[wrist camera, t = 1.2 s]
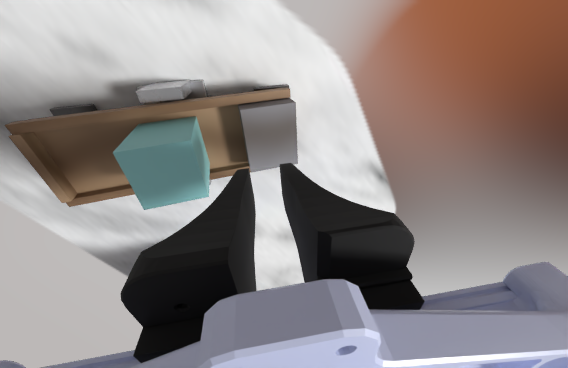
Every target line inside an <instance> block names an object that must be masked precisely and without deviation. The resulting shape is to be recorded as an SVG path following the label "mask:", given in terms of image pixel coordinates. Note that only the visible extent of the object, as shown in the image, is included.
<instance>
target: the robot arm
mask: <svg viewBox="0 0 568 368" xmlns="http://www.w3.org/2000/svg"><path fill="white" fill-rule="evenodd" d="M280 174H281V185H282V196H283V201H284V206H285V211H286V214H287V217H288V220H289V223H290V226H291V229H292V232H293V235H294V238H295V241H296V245H297V248H298V253H299V258H300V262H301V267H302V272H303V277H304V282H305V283H300V284H295V285H289V286H283V287H277V288H271V289H266V290H260V291H256V279H255V263H254V238H255V215H256V214H255V201H254V195H253V189H252V183H251V178H250V172H249V168H246V169H238V170H237V171H236V172H235V173H234V175H233V177H232V178H231V180H230V181H229V183H228V184H227V185H226V187H225V188H224V190H223V191H222V192H221V193H220V195H219V196H218V197H217V198H216V199H215V201H214V202H213V203H212V204H211V205H210V206H209V207H208V208H207V209H206V210H205V211H204V212H202V213H201V214H200V215H199V216H198V217H196V218H195V219H194V220H193V221H191V222H190V223H189V224H187V225H186V226H185V227H183V228H182V229H180V230H179V231H177V232H176V233H174V234H173V235H171V236H169V237H168V238H166V239H164V240H163V241H161V242H159V243H157V244H155V245H154V246H152V247H150V248H148V249H146V250H144V251H142V252H141V254H140V255H139V257H138V259H137V261H136V262H135V264H134V266H133V268H132V271H131V273H130V275H129V277H128V279H127V281H126V283H125V285H124V287H123V289H122V291H121V301H122V302H123V303H124V305H125V307H126V308H127V309H128V311H129V312H130V313H131V314H132V315H133V316H134V317H135V318H136V320H137V321H138V322H139V323H140V324H141V325H142V326H143V330H142V332H141V335H140V338H139V341H138V344H137V346H136V349H135V350H133V351H127V352H122V353H117V354H111V355H106V356H101V357H95V358H90V359H85V360H79V361H74V362H68V363H63V364H58V365H52V366H47V367H41V368H568V276H567V275H565V274H564V273H563V272H561V271H560V270H559V269H557V268H556V267H554V266H553V265H552V264H550V263H549V262H541V263H535V264H530V265H525V266H520V267H517V268H514V269H513V270H511V271H510V272H509V273H508V274H507V275H506V276H505V278H504V280H503V282H498V283H493V284H487V285H482V286H477V287H471V288H466V289H461V290H455V291H450V292H445V293H439V294H434V295H428V296H423V297H422V296H421V295H420V294H419V292H418V291H417V289H416V288H415V286H414V285H413V283H412V282H411V279H412V274H411V273H410V271H409V270H408V268H407V267H406V266H407V263H408V261H409V258H410V255H411V253H412V250H413V247H414V237H413V235H412V233H411V232H410V231H409V230H408V228H407V227H406V226H405V225H404V224H403V222H402V221H401V220H400V219H399V218H398V217H397V216H396V215H395V214H394V213H390V212H386V211H382V210H377V209H373V208H369V207H366V206H363V205H360V204H357V203H354V202H351V201H349V200H346V199H344V198H341V197H339V196H337V195H335V194H333V193H331V192H329V191H327V190H325V189H324V188H322V187H320V186H319V185H317V184H316V183H314V182H313V181H312V180H310V179H309V178H308V177H307V176H305V175H304V174H303V173H302V172H301V171H300V170H298V169H297V168H296V167H295V166H294V165H293V164H292V163H285V164H280ZM0 368H26V367H24V366H23V365H21V364H19V363H17V362H14V361H6V360H3V361H0Z"/></svg>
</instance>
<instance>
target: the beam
mask: <svg viewBox="0 0 568 368" xmlns="http://www.w3.org/2000/svg"><path fill="white" fill-rule="evenodd" d="M289 97H290V89H289V88H276V89H268V90H260V91H252V92H244V93H236V94H228V95H220V96H213V97H205V98H197V99H189V100H181V101H176V100H167V101H161V102H162V103H157V104H149V105H141V106H133V107H125V108H117V109H109V110H101V111H93V112H85V113H77V114H69V115H61V116H53V117H45V118H37V119H29V120H24V121H16V122H11V123H9V124H6V125H5V126H6V128H7V129H8V130H9V131H10V133H11V134H12V135H10V136H9V138H10V139H11V140H12V141H13V143H14V144H15V145H16V146H17V148H18V149H19V150H20V151H21V153H22V154H23V155H24V156H25V158H26V159H27V160H28V161H29V162H30V164H31V165H32V166H33V167H34V169H35V170H36V171H37V172H38V174H39V175H40V176H41V177H42V179H43V180H44V181H45V182H46V184H47V185H48V186H49V187H50V189H51V190H52V191H53V192H54V194H55V195H56V196H57V197H58V199H59V200H60V201H61V202H62V203H65V202H66V203H67V205H68V206H69V207H71V206H76V205H81V204H87V203H92V202H97V201H102V200H107V199H113V198H118V197H123V196H128V195H134V194H135V192H134V191H133V189H132V187H131V185H130V183H129V182H128V180H127V178H126V176H125V174H124V172H123V171H122V169H121V167H120V165H119V163H118V162H117V160H116V158H115V156H114V154H113V151H114V150H115V149H116V148H117V147H118V146H119V145H120V144H121V143H122V142H123V141H124V139H125V138H126V137H127V136H128V135H129V134H130V133H131V132H132V131H133V130H134V129H135V127H136V126H137V125H138V124H143V123H151V122H158V121H165V120H172V119H179V118H187V117H194V116H196V117H197V120H198V124H199V127H200V131H201V134H202V138H203V141H204V145H205V148H206V152H207V155H208V159H209V162H210V175H209V180H212V179H217V178H222V177H228V176H233V175H234V173H235V172H236V171H237V170H238V169H246V168H249V172H256V171H261V170H266V169H271V168H277V167H280V164H285V163H292V164H298V156H297V129H296V102H294V101H293V100H291V99H290V98H289Z"/></svg>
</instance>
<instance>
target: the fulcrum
mask: <svg viewBox="0 0 568 368" xmlns="http://www.w3.org/2000/svg"><path fill="white" fill-rule="evenodd" d="M137 88H138V90H137V91H136V94H137V96H138V99H139V101H140V103H144V105H149V104H157V103H162V102H161V101H167V100H176V101H181V100H189V99H197V98H205V97H207V94H206V90H205V86H204V82H203V80H197V81H190V80H183V81H172V82H161V83H152V84H150V85H144V86H138V87H137ZM276 88H289V85H280V86H270V87H260V88H254V91H260V90H268V89H276ZM289 98H290V97H289ZM50 111H51V112H52V114H53V116H61V115H69V114H77V113H85V112H93V111H97V109H96V107H95V105H94V104H89V105H79V106H69V107H59V108H53V109H50ZM210 184H211V180H209V185H210Z"/></svg>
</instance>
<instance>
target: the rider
mask: <svg viewBox="0 0 568 368" xmlns="http://www.w3.org/2000/svg"><path fill="white" fill-rule="evenodd" d="M113 154H114V156H115V158H116V160H117V162H118V163H119V165H120V167H121V169H122V171H123V172H124V174H125V176H126V178H127V180H128V182H129V183H130V185H131V187H132V189H133V191H134V192H135V194H136V196H137V198H138V200H139V202H140V203H141V205H142V207H143V209H144V210H146V209H151V208H156V207H161V206H166V205H171V204H176V203H180V202H185V201H190V200H195V199H200V198H205V197H209V175H210V162H209V159H208V155H207V152H206V148H205V145H204V141H203V138H202V134H201V131H200V127H199V124H198V120H197V117H196V116H194V117H187V118H179V119H172V120H165V121H158V122H151V123H143V124H138V125H137V126H136V127H135V129H134V130H133V131H132V132H131V133H130V134H129V135H128V136H127V137H126V138H125V139H124V141H123V142H122V143H121V144H120V145H119V146H118V147H117V148H116V149H115V150H114V151H113Z"/></svg>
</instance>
